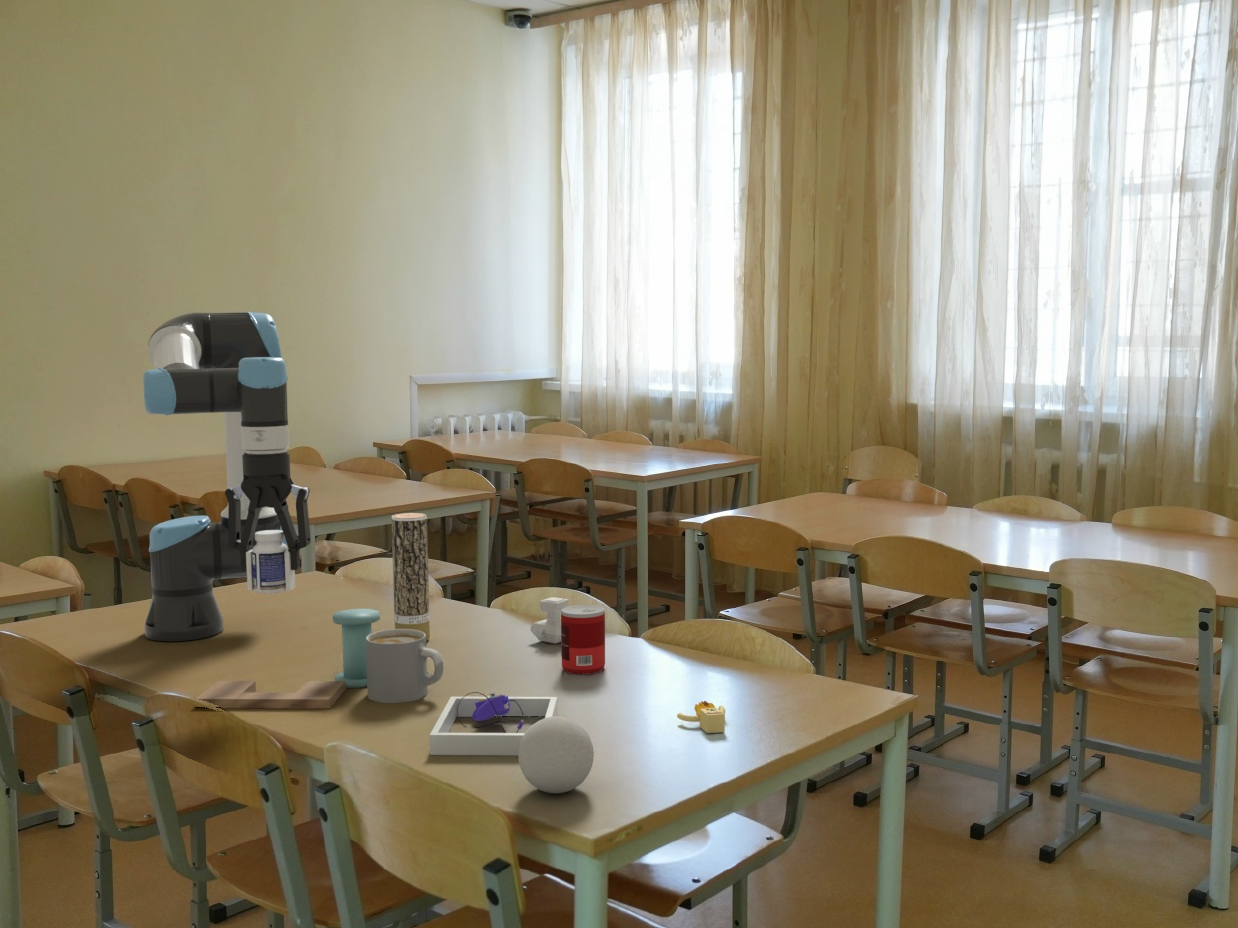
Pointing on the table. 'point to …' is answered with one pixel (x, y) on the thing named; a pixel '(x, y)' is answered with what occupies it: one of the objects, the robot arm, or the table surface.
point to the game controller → (492, 708)
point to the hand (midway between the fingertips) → (271, 588)
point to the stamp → (550, 620)
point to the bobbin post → (355, 644)
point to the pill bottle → (269, 562)
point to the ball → (556, 754)
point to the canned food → (583, 639)
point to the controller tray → (484, 742)
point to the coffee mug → (399, 665)
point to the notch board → (273, 695)
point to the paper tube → (410, 572)
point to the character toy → (707, 717)
